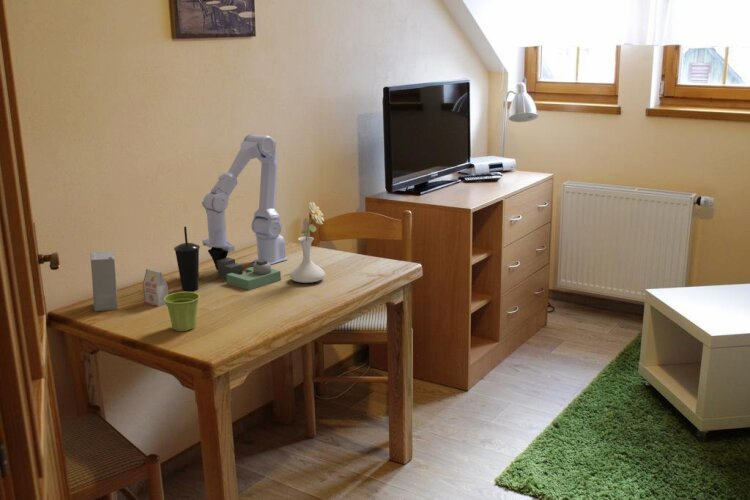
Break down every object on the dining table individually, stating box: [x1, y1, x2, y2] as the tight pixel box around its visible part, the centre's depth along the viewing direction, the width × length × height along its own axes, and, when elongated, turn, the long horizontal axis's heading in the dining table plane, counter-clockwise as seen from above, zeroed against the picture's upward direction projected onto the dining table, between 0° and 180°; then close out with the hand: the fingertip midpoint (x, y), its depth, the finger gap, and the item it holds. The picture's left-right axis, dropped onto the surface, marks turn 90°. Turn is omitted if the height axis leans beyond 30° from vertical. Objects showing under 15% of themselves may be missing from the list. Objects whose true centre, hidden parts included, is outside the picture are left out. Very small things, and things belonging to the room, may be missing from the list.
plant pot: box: [164, 291, 201, 332], centre depth 207 cm, size 9×9×9 cm
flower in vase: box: [289, 201, 326, 284], centre depth 245 cm, size 13×11×25 cm
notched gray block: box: [217, 257, 243, 280], centre depth 252 cm, size 4×7×6 cm, turn 48°
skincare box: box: [90, 250, 118, 312], centre depth 225 cm, size 8×7×16 cm
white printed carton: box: [142, 268, 169, 308], centre depth 227 cm, size 4×7×10 cm, turn 52°
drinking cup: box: [173, 226, 201, 292], centre depth 238 cm, size 8×8×20 cm
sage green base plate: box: [226, 260, 282, 291], centre depth 246 cm, size 13×11×7 cm
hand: (220, 269), depth 256 cm, fingers closed
